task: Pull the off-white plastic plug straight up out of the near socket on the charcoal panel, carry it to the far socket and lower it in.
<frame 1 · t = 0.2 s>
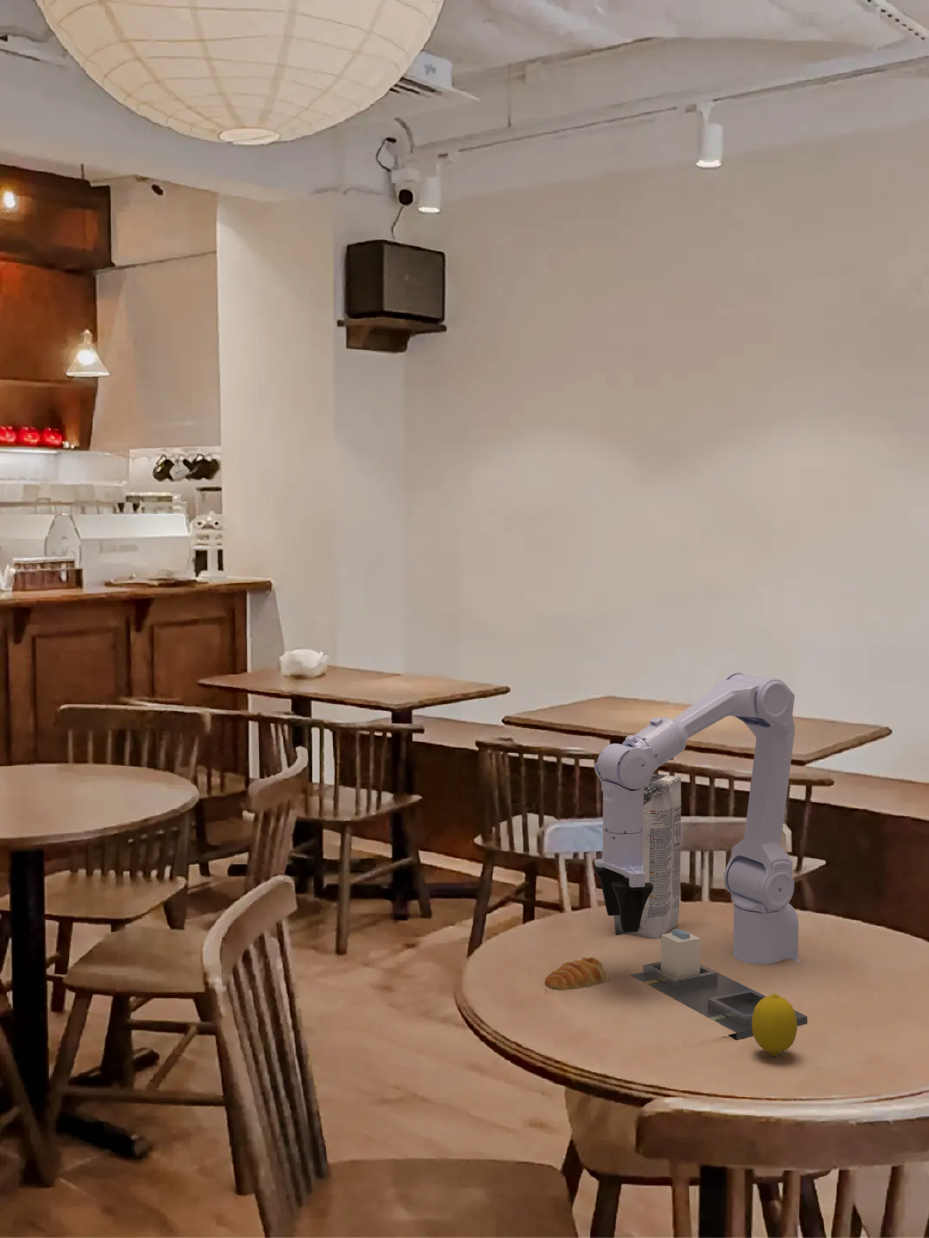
hand: (622, 922, 185), 10 cm above the table, tool pointing down, fingers open, 7 cm apart
lemon: (773, 1057, 163), on the table
pastry: (577, 989, 187), on the table
panel: (714, 1001, 182), on the table
plug: (680, 976, 189), point 1 cm above the table, touching panel
juice carton: (646, 934, 211), on the table
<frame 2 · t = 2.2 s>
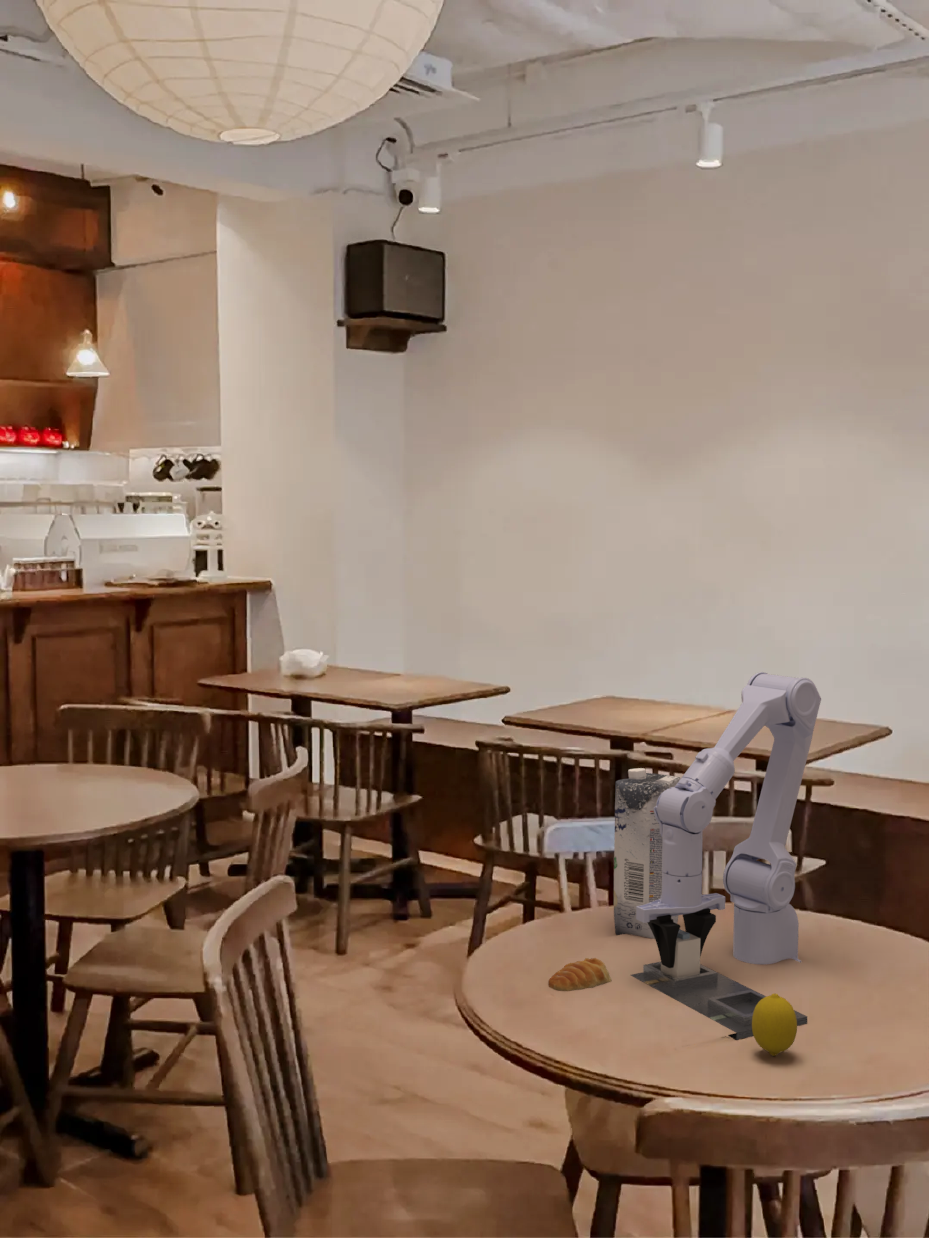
hand: (680, 963, 188), 3 cm above the table, tool pointing down, fingers closed on plug, 4 cm apart
plug: (680, 976, 189), point 1 cm above the table, touching gripper, panel
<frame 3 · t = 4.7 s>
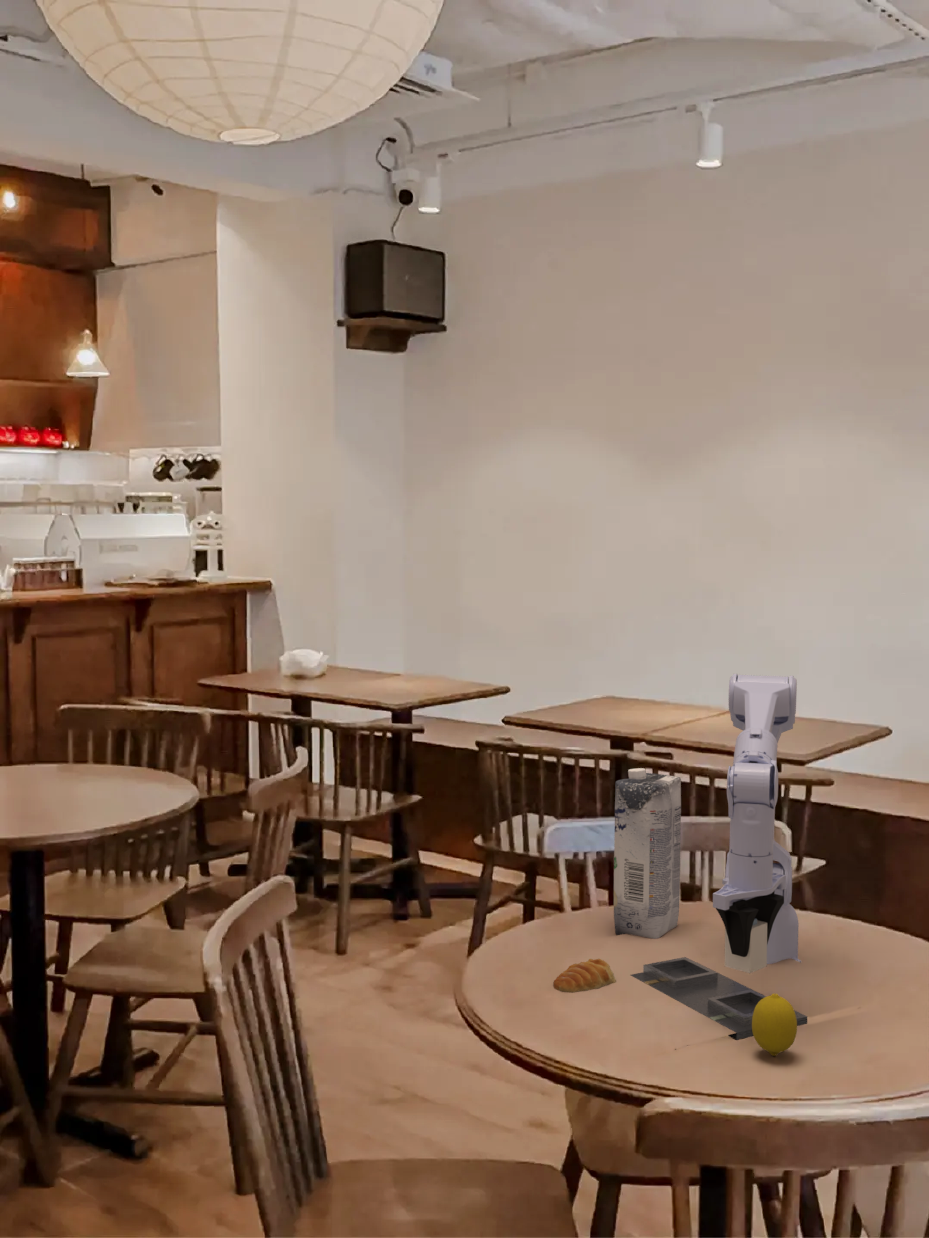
hand: (749, 950, 175), 9 cm above the table, tool pointing down, fingers closed on plug, 4 cm apart
plug: (745, 966, 175), point 7 cm above the table, touching gripper
when the fingers open (4 cm above the table, at t = 7.0 s): plug drops 1 cm, resting on panel.
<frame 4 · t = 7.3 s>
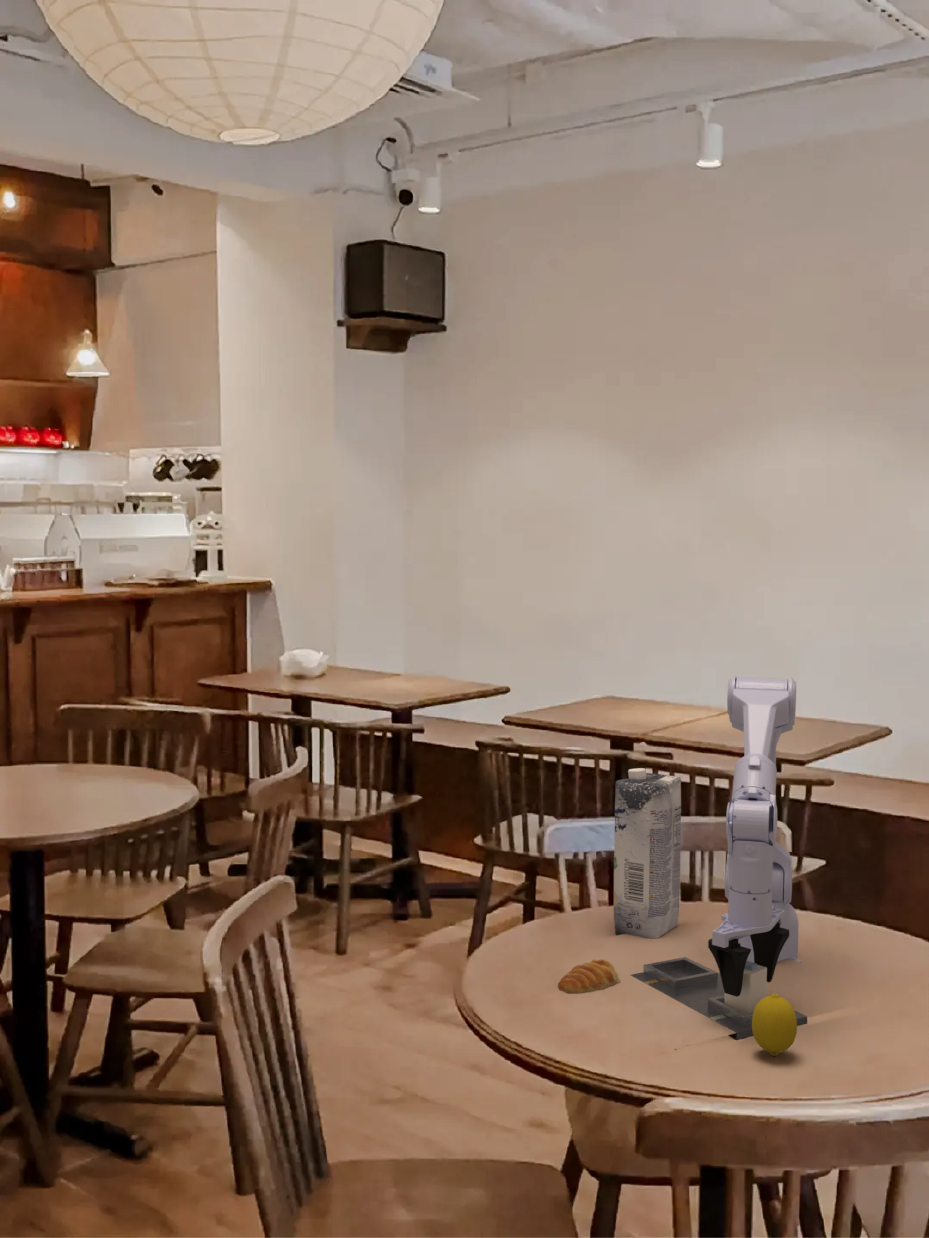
hand: (748, 986, 175), 4 cm above the table, tool pointing down, fingers open, 7 cm apart
plug: (745, 1010, 176), point 1 cm above the table, touching panel
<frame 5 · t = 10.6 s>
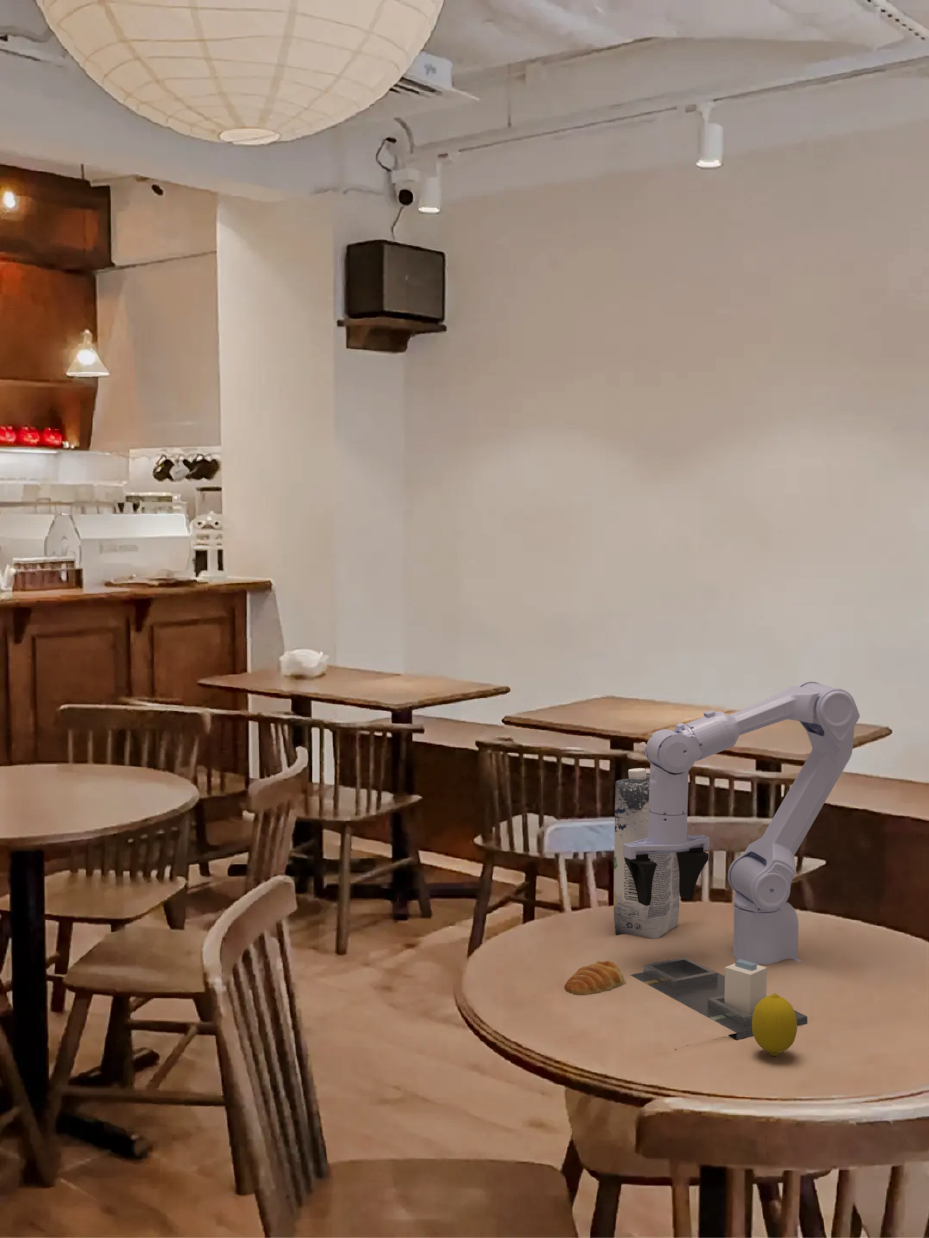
hand: (665, 900, 194), 10 cm above the table, tool pointing down, fingers open, 7 cm apart
at the end: plug 0.4 cm from the target spot on the panel, point 1.0 cm above the panel's base; plug tilted 0°; the gripper is holding nothing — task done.
